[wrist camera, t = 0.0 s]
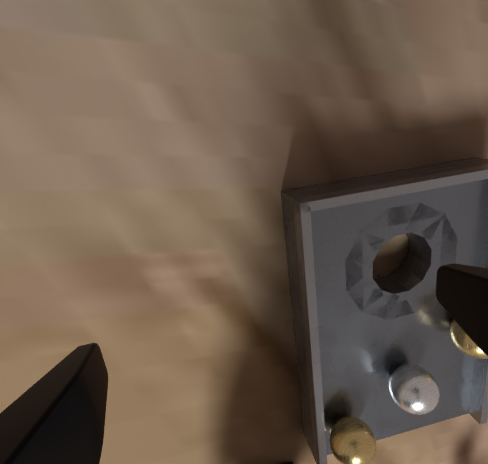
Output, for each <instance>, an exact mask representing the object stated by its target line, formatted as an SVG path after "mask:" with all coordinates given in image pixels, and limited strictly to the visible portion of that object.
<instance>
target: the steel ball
mask: <svg viewBox="0 0 488 464" xmlns="http://www.w3.org/2000/svg"><path fill="white" fill-rule="evenodd" d="M389 391H390V394H391V396H392V398H393V400H394V401H395V403H396V404H397V405H398V406H399V407H400V408H401V409H403V410H404V411H406V412H409V413H412V414H417V415H421V414H426V413H429V412H431V411H432V410H433V409H434V408H435V407H436V406H437V404H438V402H439V398H440V390H439V386H438V383H437V381H436V379H435V378H434V377H433V375H432V374H431V373H430V372H429V371H427V370H426V369H424V368H423V367H420V366H418V365H413V364H406V365H402V366H400V367H398V368H396V369H395V370H394V371H393V372H392V374H391V376H390V379H389Z"/></svg>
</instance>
